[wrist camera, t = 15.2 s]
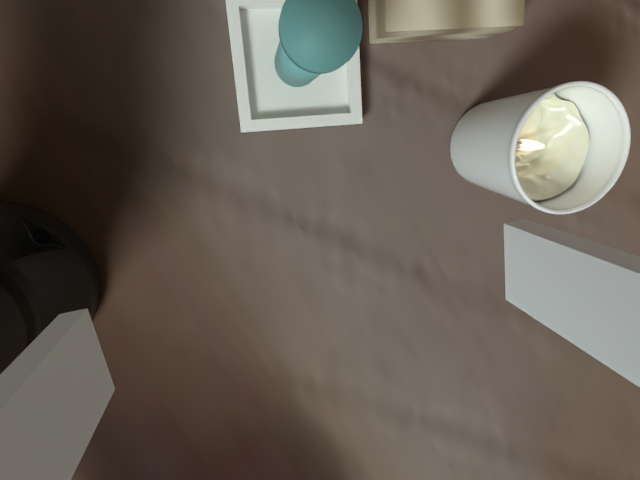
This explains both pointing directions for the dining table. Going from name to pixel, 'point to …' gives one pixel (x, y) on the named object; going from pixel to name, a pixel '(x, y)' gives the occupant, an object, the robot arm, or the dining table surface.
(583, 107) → the candle holder
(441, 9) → the beige socket block
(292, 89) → the tray
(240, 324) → the dining table surface
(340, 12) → the plug
